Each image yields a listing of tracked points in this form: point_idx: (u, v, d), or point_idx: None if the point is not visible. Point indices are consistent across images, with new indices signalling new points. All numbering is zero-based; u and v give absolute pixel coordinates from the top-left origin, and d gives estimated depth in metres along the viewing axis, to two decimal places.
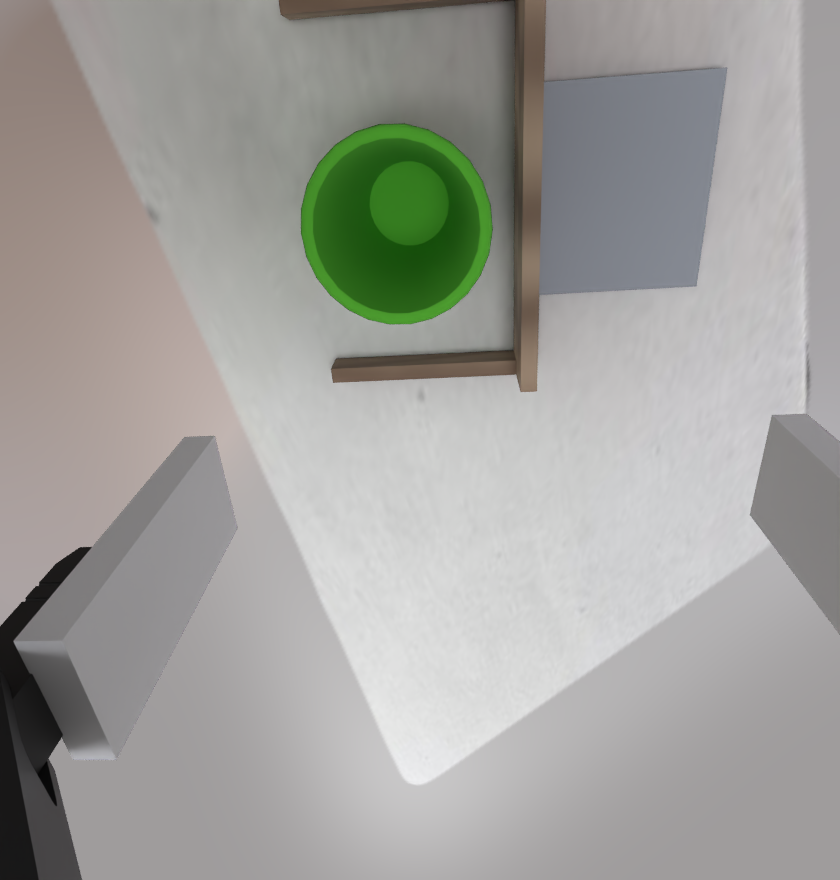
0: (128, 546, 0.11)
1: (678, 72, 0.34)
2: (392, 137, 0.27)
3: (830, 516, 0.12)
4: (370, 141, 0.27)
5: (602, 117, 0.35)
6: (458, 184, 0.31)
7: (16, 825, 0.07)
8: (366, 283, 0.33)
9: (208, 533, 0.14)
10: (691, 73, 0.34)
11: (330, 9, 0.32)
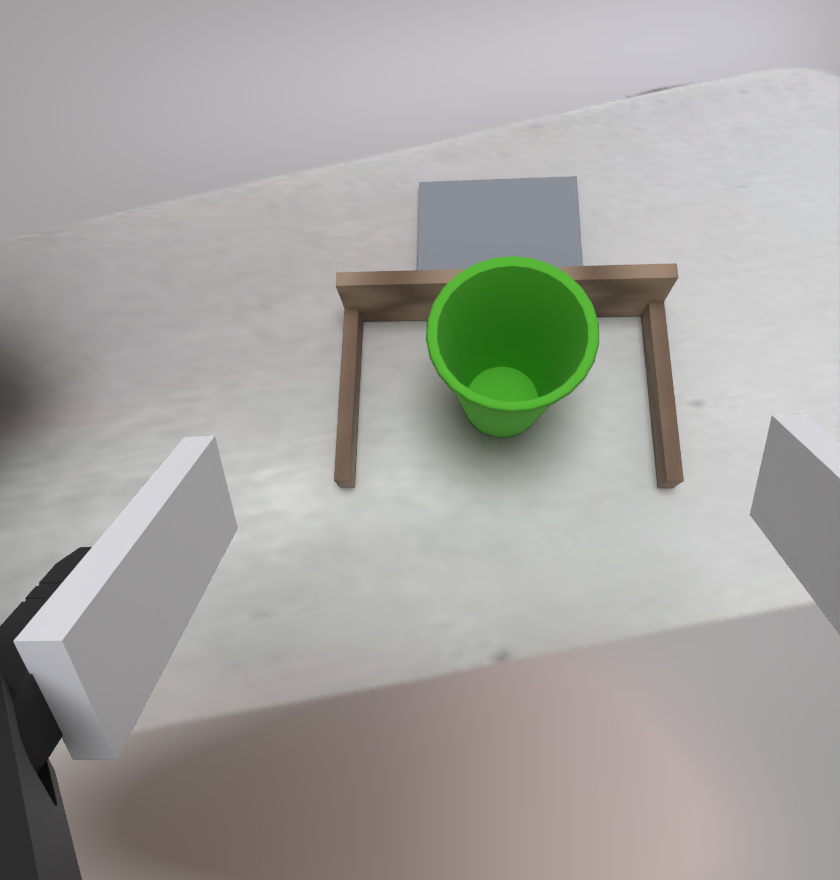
0: (128, 546, 0.11)
1: (419, 210, 0.47)
2: (436, 329, 0.33)
3: (830, 516, 0.12)
4: (438, 346, 0.32)
5: (444, 255, 0.45)
6: (480, 315, 0.37)
7: (16, 825, 0.07)
8: (563, 384, 0.34)
9: (208, 533, 0.14)
10: (421, 202, 0.47)
11: (351, 441, 0.41)
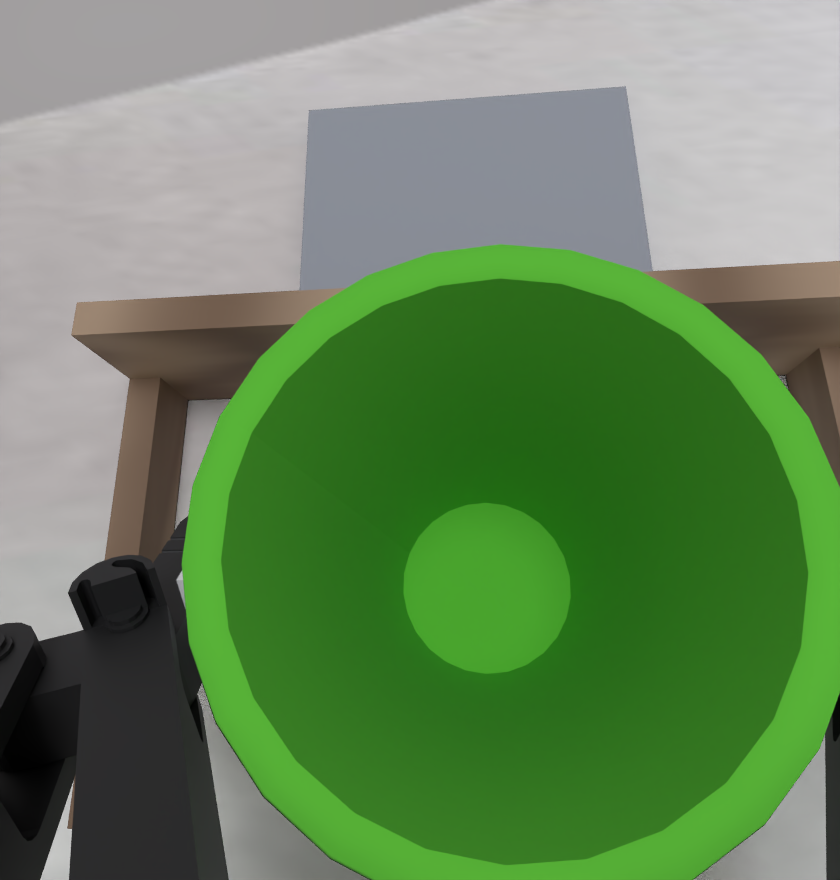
0: None
1: (307, 165, 0.23)
2: (222, 525, 0.09)
3: None
4: (223, 596, 0.08)
5: (356, 254, 0.22)
6: (413, 417, 0.13)
7: (175, 756, 0.07)
8: (683, 675, 0.10)
9: None
10: (311, 149, 0.23)
11: None
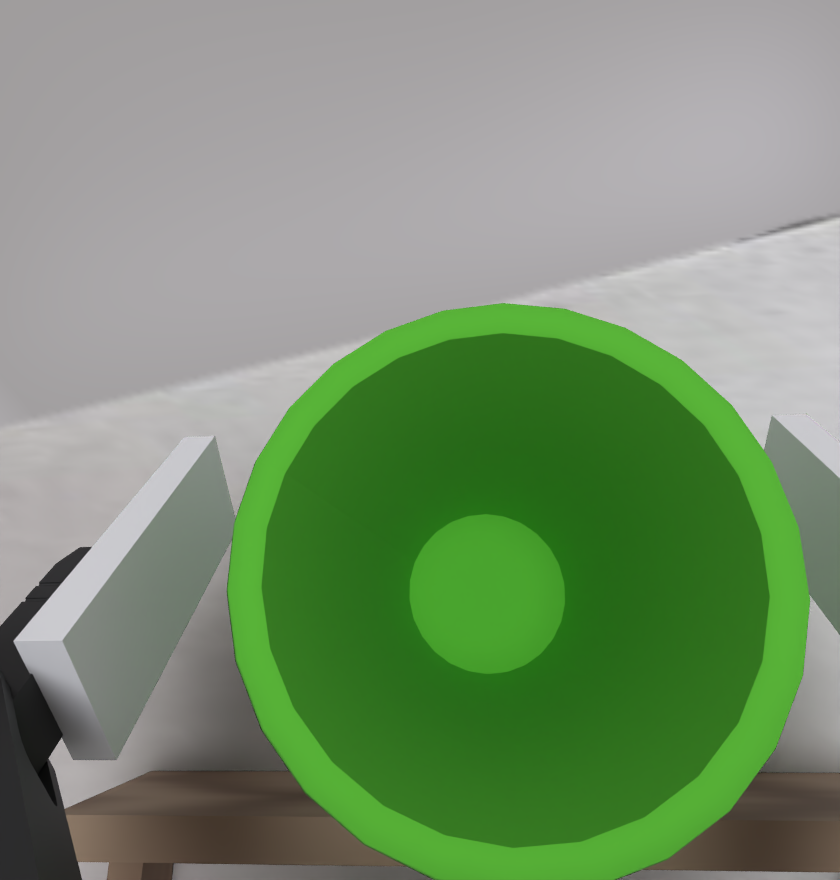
0: (128, 546, 0.11)
1: None
2: (261, 556, 0.10)
3: (830, 516, 0.12)
4: (264, 620, 0.10)
5: None
6: (422, 445, 0.14)
7: (16, 825, 0.07)
8: (665, 680, 0.11)
9: (208, 533, 0.14)
10: None
11: None
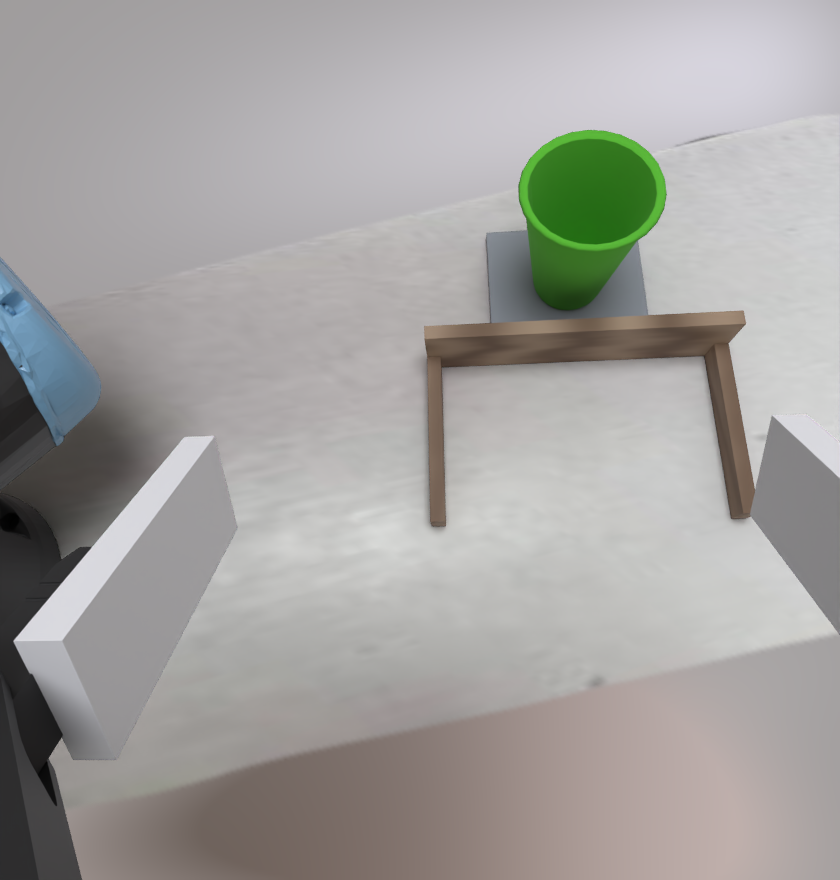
0: (128, 546, 0.11)
1: (488, 260, 0.50)
2: (527, 192, 0.39)
3: (830, 516, 0.12)
4: (530, 205, 0.38)
5: (515, 302, 0.48)
6: (554, 192, 0.43)
7: (16, 825, 0.07)
8: None
9: (208, 533, 0.14)
10: (489, 252, 0.50)
11: (443, 483, 0.43)
